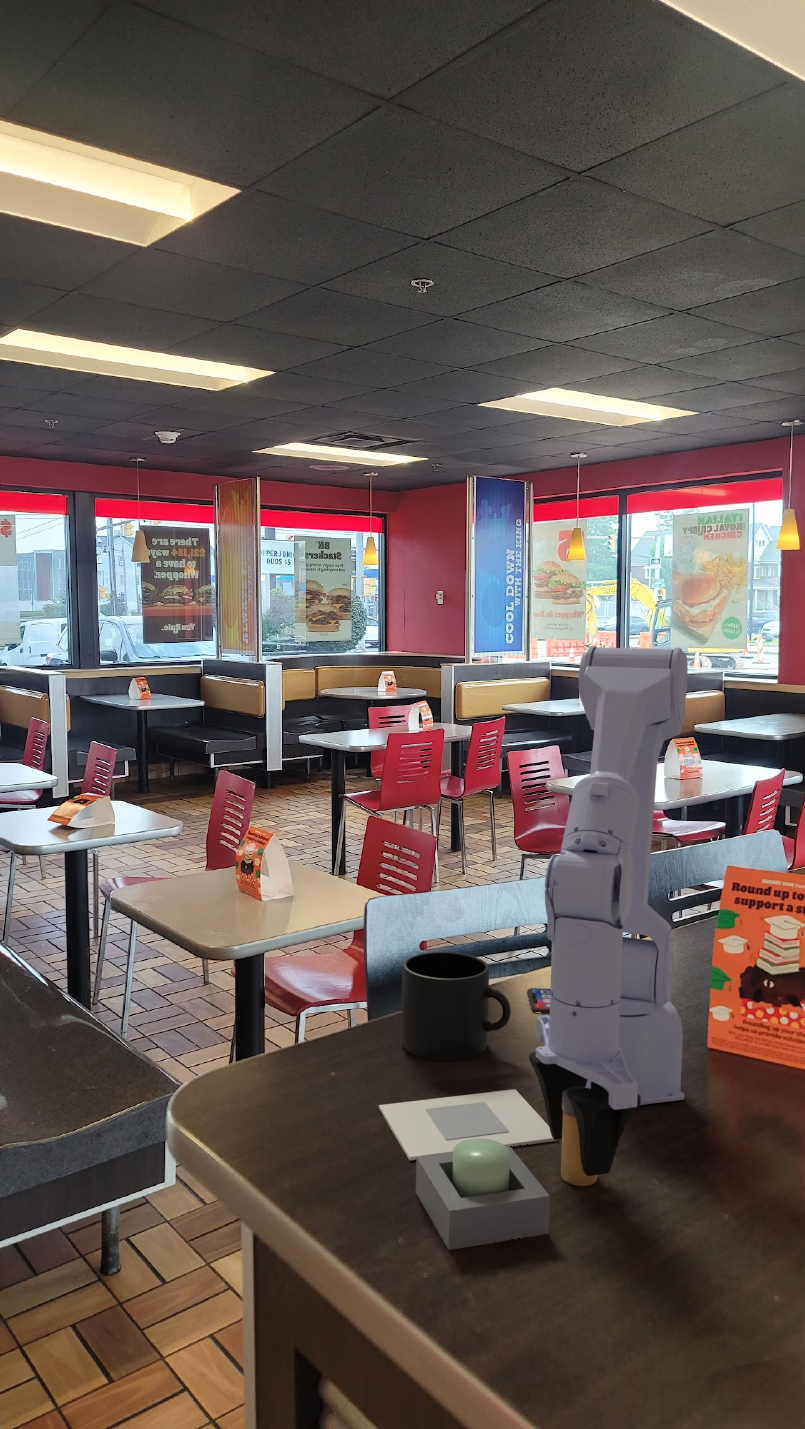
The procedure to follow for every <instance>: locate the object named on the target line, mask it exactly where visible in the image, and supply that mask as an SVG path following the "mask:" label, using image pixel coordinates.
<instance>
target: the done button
mask: <svg viewBox="0 0 805 1429" xmlns="http://www.w3.org/2000/svg"><path fill="white" fill-rule="evenodd" d="M509 1172H510V1152H509V1150H508V1148H507V1147H506V1146H504V1145H503V1144H501V1143H499V1142H497V1141H494V1140H489V1139H481V1138H475V1139H468V1140H464V1141H462V1142H460V1143H458V1144H457V1145H456V1146H455V1147H454V1149H453V1182H452V1185H453V1187H454V1188H455V1190H456V1191H457V1193H458V1194H459V1196H460V1197H461V1198H465V1197H472V1196H479V1195H485V1194H492V1193H499V1192H506V1191H509Z"/></svg>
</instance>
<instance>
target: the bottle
mask: <svg viewBox="0 0 805 1429" xmlns="http://www.w3.org/2000/svg"><path fill="white" fill-rule="evenodd" d="M583 1088H584V1087H572V1088H568V1089H565V1090H564V1091H563V1093H562V1110H563V1125H562V1139H561V1154H560V1155H561V1157H560V1158H561V1161H560V1177H561V1179H562V1180H563V1181H565V1182H566V1183H567V1184H570V1185H573V1186H579V1187H586V1186H587V1187H588V1186H591V1185H593V1184H595V1183H596V1182H598V1175H593V1176H587V1175H586V1174H585V1173H584V1172H583V1168H582V1164H581V1156H580V1141H579V1131H578V1125H577V1121H576V1117H575V1113H574V1110H573V1107H572V1105H571V1103H570V1100H569V1098H568V1096H567V1091H568V1090H575V1089H583Z"/></svg>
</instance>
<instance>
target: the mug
mask: <svg viewBox="0 0 805 1429" xmlns="http://www.w3.org/2000/svg"><path fill="white" fill-rule="evenodd" d="M401 982H402V983H401V985H402V986H401V987H402V988H401V990H402V991H401V1027H400V1028H401V1030H400V1034H401V1035H400V1036H401V1039H400V1041H401V1045H402V1047H403V1049H404V1050H405V1051H406V1052H408V1053H409V1054H411V1055H413V1056H415V1057H417V1058H420V1059H423V1060H429V1061H433V1062H445V1063H447V1062H450V1063H451V1062H461V1061H467V1060H471V1059H474V1058H477V1057H478V1056H480V1055H482V1054H483V1053H484V1052H485V1051H486V1049H487V1046H488V1032H492V1031H498V1030H500V1029H502V1028H503V1027H505V1026H506V1025H507V1024H508V1022H509V1020H510V1017H511V1014H512V1013H511V1012H512V1010H511V1009H512V1008H511V1005H510V1002H509V1000H508V999H507V996H505V995H504V994H503V992H501V991H500V990H498V989H495V988H493V987H490V986H489V983H490V967H489V964H488V963H487V962H486V961H485V960H483V959H481V958H479V957H476V956H473V955H470V954H465V953H460V952H449V951H448V952H447V951H436V952H435V951H433V952H425V953H420V954H419V953H418V954H416V955H412V956H410V957H408V958H406V959H405V960H404V962H403V964H402V980H401ZM491 998H492V999H494V1000H496V1001H498V1003H499V1004H500V1006H501V1010H502V1013H501V1017H500V1018H499V1019H498V1020H497V1021H495V1022H491V1021H489V999H491ZM484 1050H485V1051H484Z"/></svg>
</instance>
